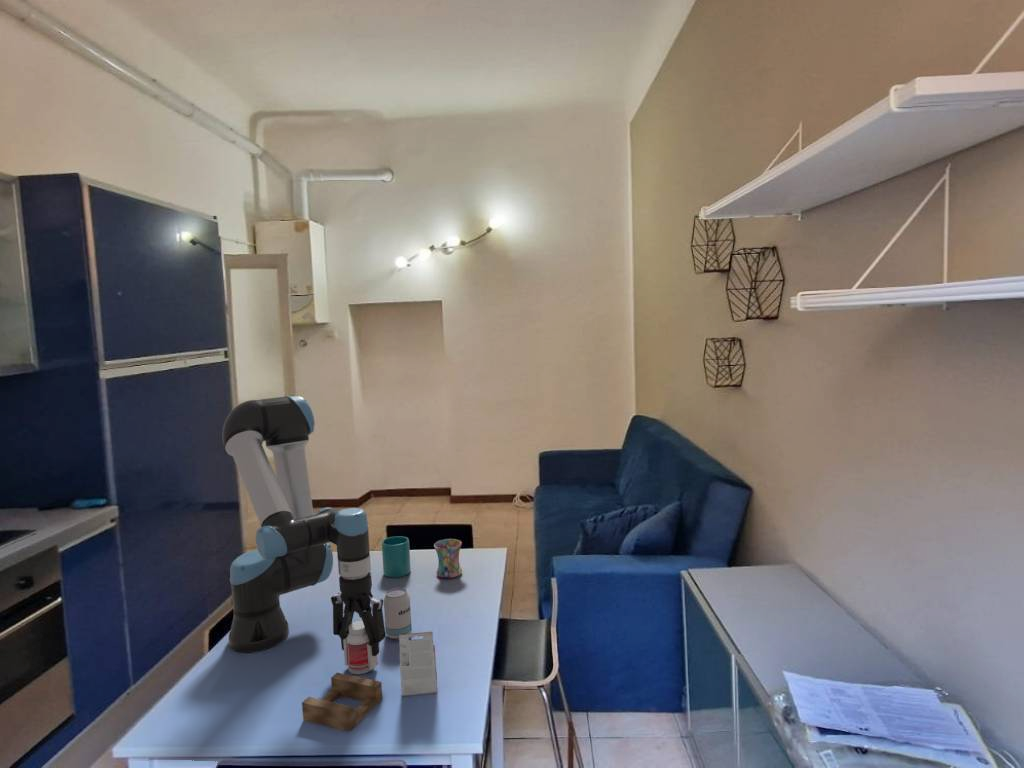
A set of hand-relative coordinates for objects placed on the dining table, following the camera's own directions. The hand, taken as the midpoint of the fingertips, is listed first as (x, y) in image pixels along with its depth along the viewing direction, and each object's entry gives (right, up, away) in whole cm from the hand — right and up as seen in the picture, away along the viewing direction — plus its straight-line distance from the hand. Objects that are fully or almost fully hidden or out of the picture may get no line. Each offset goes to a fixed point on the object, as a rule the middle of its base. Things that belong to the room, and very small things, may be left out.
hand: (361, 664), depth 152 cm
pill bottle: (0, -1, 0) cm, 1 cm away
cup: (-2, +5, +60) cm, 60 cm away
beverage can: (+6, +1, +16) cm, 17 cm away
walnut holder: (0, -3, -16) cm, 16 cm away
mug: (+16, +5, +54) cm, 56 cm away
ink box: (+16, -2, -10) cm, 19 cm away
